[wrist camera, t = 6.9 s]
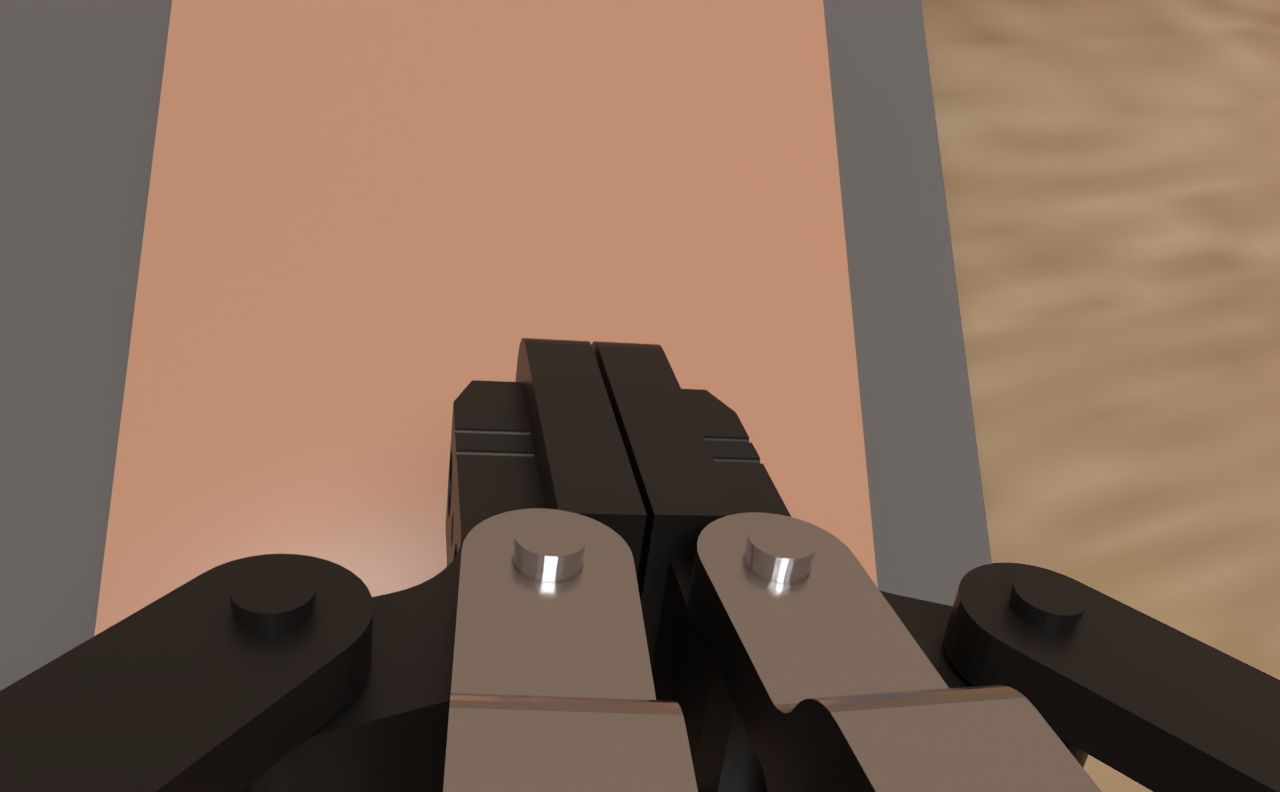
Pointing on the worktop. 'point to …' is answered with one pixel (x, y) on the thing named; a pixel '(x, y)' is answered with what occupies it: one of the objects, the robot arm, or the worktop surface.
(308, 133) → the tile
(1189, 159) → the worktop surface
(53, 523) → the mat
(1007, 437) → the worktop surface
